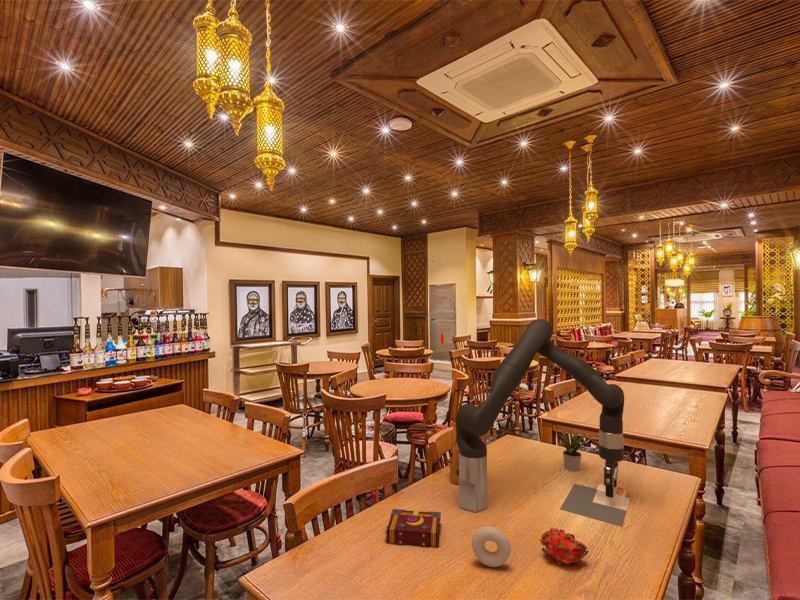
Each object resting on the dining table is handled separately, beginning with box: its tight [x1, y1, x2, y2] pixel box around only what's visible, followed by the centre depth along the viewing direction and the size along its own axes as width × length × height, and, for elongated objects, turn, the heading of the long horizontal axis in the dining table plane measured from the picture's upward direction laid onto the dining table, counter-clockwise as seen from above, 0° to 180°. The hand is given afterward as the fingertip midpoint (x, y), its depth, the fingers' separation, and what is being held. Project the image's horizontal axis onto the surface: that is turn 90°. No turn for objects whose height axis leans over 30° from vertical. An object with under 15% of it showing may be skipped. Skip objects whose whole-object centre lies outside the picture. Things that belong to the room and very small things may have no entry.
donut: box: [471, 525, 512, 568], centre depth 105 cm, size 10×4×10 cm, turn 75°
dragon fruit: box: [540, 527, 589, 567], centre depth 106 cm, size 8×8×12 cm
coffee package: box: [449, 421, 482, 485], centre depth 154 cm, size 10×12×22 cm
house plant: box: [555, 427, 590, 472], centre depth 162 cm, size 14×14×16 cm
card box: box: [596, 483, 627, 507], centre depth 137 cm, size 8×6×4 cm
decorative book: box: [385, 508, 442, 548], centre depth 119 cm, size 11×16×5 cm
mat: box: [559, 483, 631, 528], centre depth 135 cm, size 22×18×1 cm
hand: (611, 491), depth 137 cm, fingers open, 8 cm apart
